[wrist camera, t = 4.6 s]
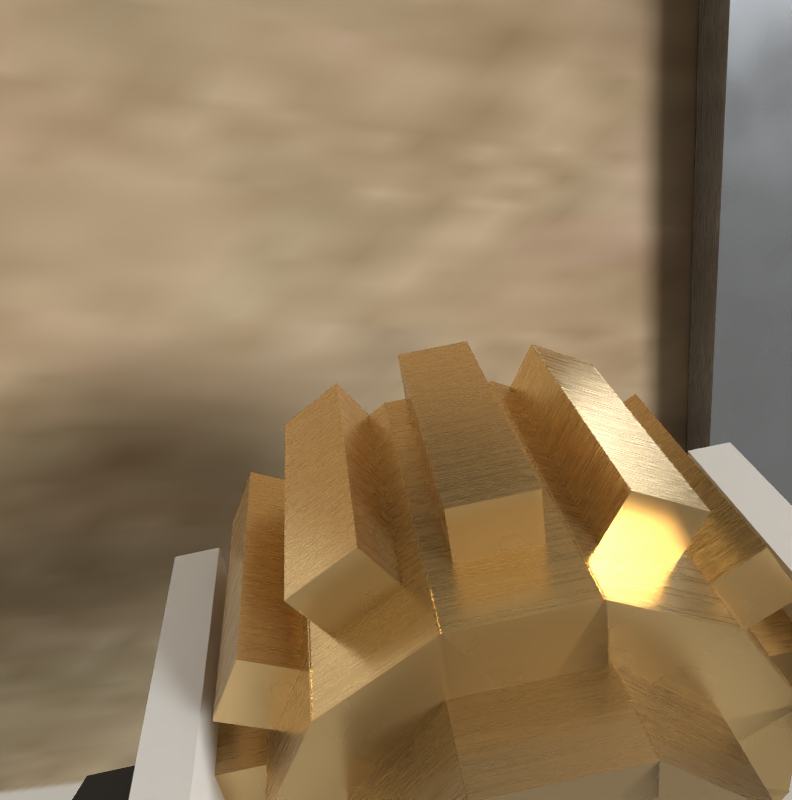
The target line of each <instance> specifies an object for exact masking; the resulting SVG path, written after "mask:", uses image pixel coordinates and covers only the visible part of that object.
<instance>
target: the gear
mask: <svg viewBox="0 0 792 800" xmlns="http://www.w3.org/2000/svg"><path fill="white" fill-rule="evenodd" d="M398 359H399V365H400V370H401V376H402V382H403V388H404V393H405V399H403V400H398V401H393V402H388V403H384V404H383V405H382V406H381V407H379V408H378V409H377V410H376V411H374V412H373V413H372V414H371V415H368V414H367V413H366V412H365V411H364V410H363V409H362V408H361V407H360V406H359V405H358V404H357V403H356V402H355V401H354V400H353V399H352V398H351V397H350V396H349V395H348V394H347V393H346V392H345V391H344V390H343V389H342V388H341V387H340V386H339V385H338V384H337V383H336V384H335V385H334V386H333V387H331V388H330V389H329V390H328V391H326V392H325V393H324V394H323V395H321V396H320V397H319V398H318V399H316V400H315V401H314V402H313V403H311V404H310V405H309V406H308V407H306V408H305V409H304V410H303V411H301V412H300V413H299V414H298V415H296V416H295V417H294V418H293V419H291V420H290V421H289V422H288V423H286V424H285V480H283V479H279V478H275V477H271V476H266V475H262V474H258V473H254V472H250V475H249V478H248V481H247V483H246V486H245V489H244V492H243V495H242V498H241V501H240V504H239V507H238V509H237V512H236V515H235V518H234V521H233V525H232V535H231V545H230V555H229V565H228V575H227V584H226V594H225V604H224V614H223V624H222V634H221V644H220V653H219V663H218V673H217V683H216V693H215V703H214V712H213V721H214V722H219V733H218V744H217V755H216V766H215V778H216V780H217V782H218V785H219V787H220V789H221V791H222V794H223V796H224V798H225V800H782V799H783V798H784V797H785V796H786V795H787V793H789V787H790V781H791V775H792V621H791V619H790V618H789V617H788V616H787V614H786V613H785V612H784V611H783V609H782V608H783V607H784V606H786V605H788V604H789V603H791V602H792V581H791V580H790V578H789V577H788V575H787V574H786V573H785V571H784V570H783V569H782V567H781V566H780V564H779V563H778V562H777V560H776V559H775V558H774V556H773V555H772V554H771V552H770V551H769V549H768V548H767V547H766V546H765V544H764V543H763V542H762V541H761V540H760V539H759V537H758V536H757V535H756V534H755V533H754V532H753V530H752V529H751V528H750V527H749V526H748V525H747V523H746V522H745V521H744V520H743V519H742V518H741V516H740V515H739V514H738V513H737V512H736V511H735V509H734V508H733V507H732V506H731V505H730V504H729V502H728V501H727V500H726V499H725V498H724V497H723V495H722V494H721V493H720V492H719V491H718V490H717V488H716V487H715V486H714V485H713V484H712V483H711V481H710V480H709V479H708V478H707V477H706V476H705V474H704V473H703V472H702V471H701V470H700V469H699V467H698V466H697V465H696V464H695V463H694V462H693V460H692V459H691V458H690V457H689V456H688V455H687V453H686V452H685V451H684V450H683V449H682V448H681V446H680V445H679V444H678V443H677V442H676V441H675V439H674V438H673V437H672V436H671V435H670V434H669V432H668V431H667V430H666V429H665V428H664V427H663V425H662V424H661V423H660V422H659V421H658V420H657V418H656V417H655V416H654V415H653V414H652V413H651V411H650V410H649V409H648V408H647V407H646V406H645V404H644V403H643V402H642V401H641V400H640V399H639V397H638V396H637V395H636V394H635V395H633V396H632V397H630V398H629V399H628V400H626V401H625V402H622V401H621V400H620V399H619V397H618V396H617V395H616V394H615V392H614V391H613V390H612V389H611V387H610V386H609V385H608V384H607V383H606V381H605V380H604V379H603V378H602V376H601V375H600V374H599V373H598V371H597V370H596V369H595V368H594V366H593V365H592V364H591V363H589V362H585V361H582V360H579V359H576V358H573V357H570V356H567V355H563V354H560V353H557V352H554V351H551V350H548V349H545V348H541V347H538V346H535V345H531V347H530V349H529V351H528V353H527V355H526V357H525V359H524V361H523V363H522V365H521V367H520V369H519V371H518V373H517V375H516V377H515V379H514V381H513V383H512V385H511V387H509V386H505V385H502V384H498V383H495V382H492V381H491V382H487V380H486V378H485V376H484V374H483V372H482V370H481V369H480V367H479V365H478V363H477V361H476V359H475V357H474V355H473V353H472V351H471V349H470V347H469V345H468V343H467V341H466V342H461V343H456V344H451V345H446V346H441V347H436V348H431V349H426V350H421V351H416V352H411V353H406V354H400V355H398Z"/></svg>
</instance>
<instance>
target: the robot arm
mask: <svg viewBox="0 0 792 800" xmlns="http://www.w3.org/2000/svg"><path fill="white" fill-rule="evenodd" d="M688 456H689V457H690V458H691V459H692V460H693V462H694V463H695V464H696V465H697V466H698V467H699V469H700V470H701V471H702V472H703V473H704V474H705V476H706V477H707V478H708V479H709V480H710V481H711V483H712V484H713V485H714V486H715V487H716V488H717V490H718V491H719V492H720V493H721V494H722V495H723V497H724V498H725V499H726V500H727V501H728V502H729V504H730V505H731V506H732V507H733V508H734V509H735V511H736V512H737V513H738V514H739V515H740V516H741V518H742V519H743V520H744V521H745V522H746V523H747V525H748V526H749V527H750V528H751V529H752V530H753V532H754V533H755V534H756V535H757V536H758V537H759V539H760V540H761V541H762V542H763V543H764V544H765V546H766V547H767V548H768V549H769V551H770V552H771V554H772V555H773V556H774V558H775V559H776V560H777V562H778V563H779V564H780V566H781V567H782V569H783V570H784V571H785V573H786V574H787V575H788V577H789V578H790V580H791V581H792V506H791V505H790V503H789V502H788V501H787V500H786V499H785V498H784V497H783V496H782V495H781V494H780V493H779V492H778V491H777V490H776V489H775V488H774V487H773V486H772V485H771V484H770V483H769V482H768V481H767V480H766V479H765V478H764V477H763V476H762V475H761V474H760V473H759V471H758V470H757V469H756V468H755V467H754V466H753V465H752V464H751V463H750V462H749V461H748V460H747V459H746V458H745V457H744V456H743V455H742V454H741V453H740V452H739V451H738V450H737V449H736V448H735V447H734V446H733V445H732V444H731V443H730V442H729V443H724V444H719V445H714V446H709V447H704V448H699V449H694V450H690V451H688ZM227 575H228V571H227V568H226V565H225V562H224V559H223V557H222V554H221V551H220V548H215V549H210V550H205V551H200V552H196V553H191V554H186V555H181V556H176V557H175V561H174V566H173V571H172V576H171V581H170V587H169V592H168V597H167V602H166V607H165V613H164V618H163V623H162V628H161V633H160V639H159V644H158V649H157V654H156V660H155V665H154V670H153V675H152V680H151V686H150V691H149V696H148V701H147V706H146V712H145V717H144V722H143V727H142V732H141V738H140V743H139V748H138V753H137V759H136V764H135V766H131V767H126V768H121V769H117V770H112V771H107V772H103V773H98V774H94V775H89V776H87V777H86V779H85V780H84V782H83V783H82V785H81V787H80V788H79V790H78V791H77V793H76V795H75V796H74V798H73V799H72V800H225V798H224V796H223V794H222V791H221V789H220V787H219V785H218V782H217V780H216V778H215V766H216V755H217V744H218V733H219V722H214V721H213V712H214V703H215V693H216V683H217V673H218V663H219V653H220V644H221V634H222V624H223V614H224V604H225V594H226V584H227ZM782 609H783V611H784V612H785V613H786V614H787V616H788V617H789V618H790V619H791V621H792V602H791V603H789V604H788V605H786V606H784V607H783V608H782Z"/></svg>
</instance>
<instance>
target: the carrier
mask: <svg viewBox="0 0 792 800" xmlns="http://www.w3.org/2000/svg"><path fill="white" fill-rule="evenodd" d="M729 442H730V443H731V444H732V445H733V446H734V447H735V448H736V449H737V450H738V451H739V452H740V453H741V454H742V455H743V456H744V457H745V458H746V459H747V460H748V461H749V462H750V463H751V464H752V465H753V466H754V467H755V468H756V469H757V470H758V471H759V473H760V474H761V475H762V476H763V477H764V478H765V479H766V480H767V481H768V482H769V483H770V484H771V485H772V486H773V487H774V488H775V489H776V490H777V491H778V492H779V493H780V494H781V495H782V496H783V497H784V498H785V499H786V500H787V501H788V502H789V503H790V505H792V0H700V3H699V38H698V73H697V108H696V143H695V177H694V212H693V247H692V282H691V317H690V352H689V387H688V422H687V455H688V451H690V450H694V449H699V448H704V447H709V446H714V445H719V444H724V443H729Z"/></svg>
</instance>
